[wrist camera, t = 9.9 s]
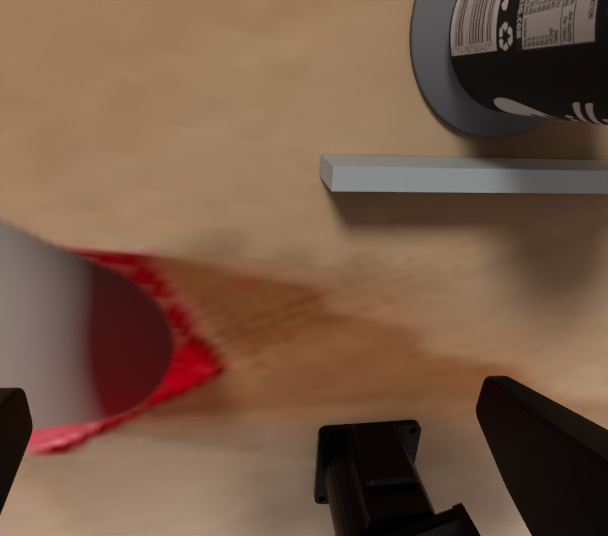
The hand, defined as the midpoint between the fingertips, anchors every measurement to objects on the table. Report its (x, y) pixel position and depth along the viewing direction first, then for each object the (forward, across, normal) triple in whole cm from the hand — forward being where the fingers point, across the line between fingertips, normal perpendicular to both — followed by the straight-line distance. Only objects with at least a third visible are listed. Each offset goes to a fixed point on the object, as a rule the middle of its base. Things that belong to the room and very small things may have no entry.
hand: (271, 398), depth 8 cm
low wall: (+13, -11, -3) cm, 17 cm away
